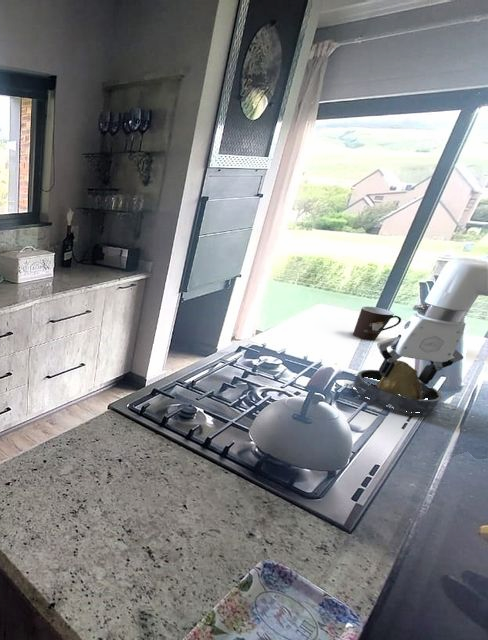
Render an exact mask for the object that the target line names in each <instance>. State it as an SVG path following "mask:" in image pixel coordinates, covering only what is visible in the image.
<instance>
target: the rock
mask: <svg viewBox="0 0 488 640" xmlns="http://www.w3.org/2000/svg"><path fill="white" fill-rule="evenodd" d="M393 363H394V364H395V365H394V367H393V369H392V370H391V372H390V374H389V376H388V377H383V376H382V378H381V380H380V381H379V382H378V383H377V385H376V386H375V387H377V388H379V389H381V390H384V391H387V392H389V393H392V394H396V395H398V394H400V395H401V396H403V397H407V398H412V399H418V400H421V398H422V385H421V383H420V382H421V381H420V380H419V379H418V377H419V376H418V373H417V372H418V371H417V370H416V369H414V368H413V367H412V366H411V365H410V364H409V363H407V362H405V361H404V360H399V359H397V360H396V361H394V362H393ZM419 381H420V382H419Z"/></svg>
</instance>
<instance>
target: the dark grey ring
mask: <svg viewBox="0 0 488 640" xmlns="http://www.w3.org/2000/svg"><path fill="white" fill-rule="evenodd" d="M364 377H368V378H373V379H377V380H381V378H382V375H381V374H380V373H379V369H363V370H360V371H359V372H358V373H357V374H356V377H355V378H354V380H353V381H352V383H351V386H350V391H351V392H352V394H353V395H354V396H356V397H357V398H359V399H360V400H361V401H363V402H365V403H367V404H368V405H371V406H373V407H376V408H378V409H381V410H384V411H387V412H391V413H393V414H398V415H402V416H408V417H428V416H430V415H431V414H432V413H433V412H434V410H436V407H437V406H438V405H439V404H440V401H442V400H443V396H442V393H440V392H439V391H438V390H437V389H436V388H434V387H433V386H431V385H429V384H424V383H422V382H421V381H420V380H419V382H420V383H421V385H422V398H421V400H418V399H412V398H407V397H403V396H399V395H396V394H392V393H389V392H387V391H384V390H381V389H379V388H377V387H375V386H376V385H373V384H370V383H369V382H366V381H365V380H364V379H363V378H364ZM352 385H353V387H355V388H356V389H357V390H358V392H359V393H357V392H356V391H355V390H354V389H353V387H352ZM365 397H368V398H370V400H369V399H367V398H365ZM425 398H428V400H424V399H425ZM388 404H391V405H392V406H393V407H394V409H393V408H389V407H386V405H388ZM406 411H407V412H406ZM411 412H412V413H411ZM413 412H414V413H413ZM415 412H420V413H415Z"/></svg>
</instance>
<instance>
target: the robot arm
mask: <svg viewBox="0 0 488 640" xmlns="http://www.w3.org/2000/svg"><path fill="white" fill-rule="evenodd" d="M479 296H485V297H488V253H486V254H484V255H483V256H482V257H480V258H479V259H476V258H467V257H456V258H452V259H450V260H448V261H447V262H446V263H445V265H444V267H443V268H442V270H441V271H440V274H439V275H438V277H437V279H436V280H435V282H434V284H433V286H432V287H431V289H430V291H429V293H428V294H427V295H426V297H425V299H424V301H423V302H421V304H414V306H413V311H415V312H417V313H413V314H412V315H411V316H410V317H409V318H408V320H407V321H406V322H405V323H404V324H403V326H402V327H401V328H400V329H399V331H398V332H397V334H396V335H395V337H392V338H389V339H386V340H383V341H379V342H378V343H377V348H378V350H379V353H380V355H381V356H382V358H383V361H382V363H381V364H380V366H379V368H378V370H379V373H380V374H381V375H382V376H383V377H388V376H389V374H390V372H391V370H392V369H393V367H394V365H395V364H394V363H393V362H394V361H396V360H399V359H400V358H402V357H403V358H408V359H413V360H414V359H415V360H421V361H427V362H429V364H426V365H425V366H424V368H423V369H422V370H421V372H420V374H419V376H418V380H419V381H420V382H422V383H424V384H427V385H429V382H430V381H432V380H434V379H433V378H434V377H435V376H436V374H437V372H439V371H442V370H443V369H444V368H446V367H450V366H452V365H453V364H454V363H458V362H459V361H461V360H463V359H464V356H463V355H462V353H460V351H459V350H457V348H458V346H459V344H460V342H461V339H462V337H463V334H464V331H465V328H466V324H467V323H466V322H464V319H465V317H466V316H467V314H468V313H469V311H470V310H471V308H472V307H473V305H474V303H475V302H476V301H477V299H478V298H479ZM388 347H390V349H392V350H390V351H388Z"/></svg>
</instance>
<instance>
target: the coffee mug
mask: <svg viewBox="0 0 488 640" xmlns="http://www.w3.org/2000/svg"><path fill="white" fill-rule="evenodd" d="M393 318H395V319H396V318H397V319H398V321H397V322H396V323H394V324H393V325H390V326H388V327H386V326H387V324H388V323H389V322H390V320H392V319H393ZM400 323H402V318H401V317H400V316H398V315H395V313H394V312H393V311H391V310H389V309H385V308H381V307H377V306H376V307H375V306H368V305H367V306H362V307H361V309H360V312H359V315H358V318H357V321H356V324H355V327H354V330H353V333H352V336H353V337H354V338H358V339H361V340H364V341H370V342H371V341H376V340H377V338H378V337H379V335H380V334H381V333H382V332H383V331H387V330H389V329H392V328H394V327H397V326H398V325H400Z"/></svg>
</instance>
